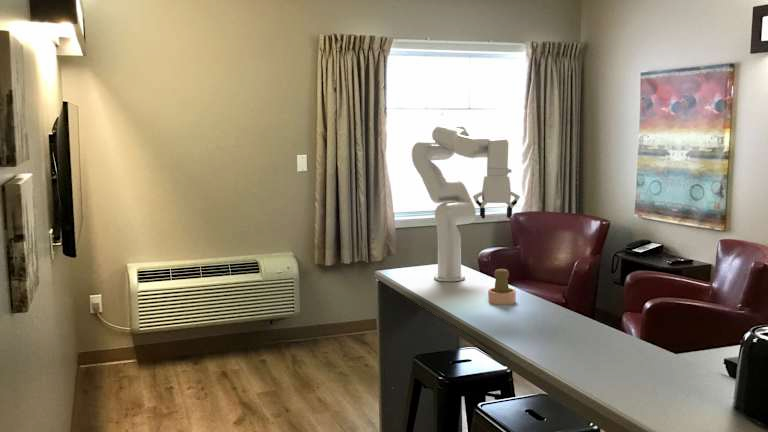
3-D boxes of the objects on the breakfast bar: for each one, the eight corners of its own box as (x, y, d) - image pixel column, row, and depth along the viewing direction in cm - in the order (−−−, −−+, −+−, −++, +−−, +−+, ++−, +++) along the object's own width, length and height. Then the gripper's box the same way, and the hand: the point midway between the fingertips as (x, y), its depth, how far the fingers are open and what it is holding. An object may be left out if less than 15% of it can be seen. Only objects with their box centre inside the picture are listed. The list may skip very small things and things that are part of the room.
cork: (509, 297, 248) (509, 267, 247) (510, 301, 242) (511, 271, 241) (492, 297, 249) (492, 267, 248) (493, 301, 243) (493, 271, 242)
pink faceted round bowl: (486, 298, 250) (486, 287, 249) (511, 297, 251) (511, 287, 250) (492, 305, 241) (492, 293, 240) (518, 304, 241) (518, 292, 241)
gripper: (517, 171, 258) (516, 216, 261) (472, 171, 258) (471, 216, 260) (522, 173, 251) (521, 219, 254) (475, 173, 250) (474, 219, 253)
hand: (495, 218), depth 257 cm, fingers open, 9 cm apart
